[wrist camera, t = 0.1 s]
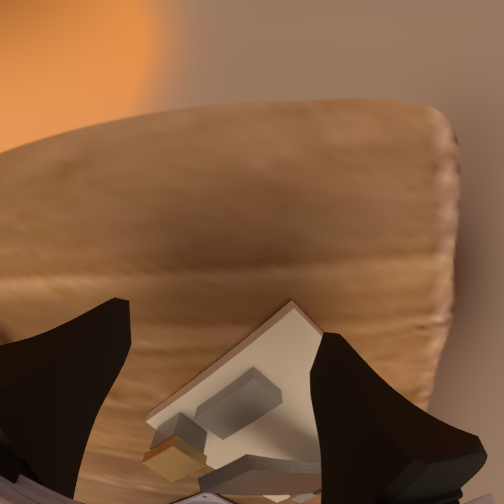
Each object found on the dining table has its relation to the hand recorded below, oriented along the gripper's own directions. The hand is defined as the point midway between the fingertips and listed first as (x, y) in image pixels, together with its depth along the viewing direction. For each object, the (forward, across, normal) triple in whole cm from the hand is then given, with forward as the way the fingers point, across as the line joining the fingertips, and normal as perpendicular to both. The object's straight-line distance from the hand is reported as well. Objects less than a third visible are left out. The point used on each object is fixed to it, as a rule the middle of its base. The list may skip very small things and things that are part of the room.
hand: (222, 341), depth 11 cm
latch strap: (+3, -6, +14) cm, 15 cm away
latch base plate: (+8, -6, +15) cm, 18 cm away
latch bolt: (+4, +3, +15) cm, 16 cm away
